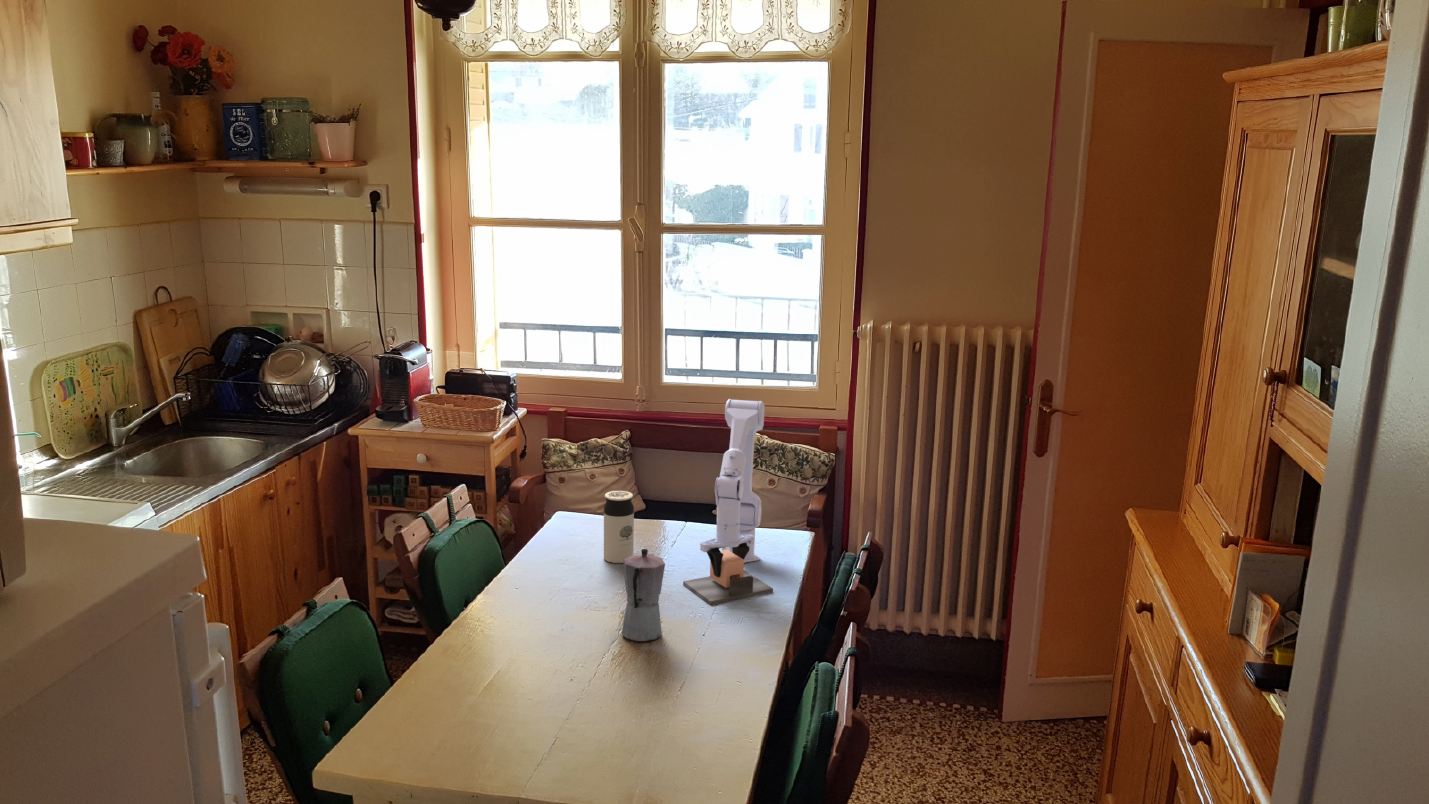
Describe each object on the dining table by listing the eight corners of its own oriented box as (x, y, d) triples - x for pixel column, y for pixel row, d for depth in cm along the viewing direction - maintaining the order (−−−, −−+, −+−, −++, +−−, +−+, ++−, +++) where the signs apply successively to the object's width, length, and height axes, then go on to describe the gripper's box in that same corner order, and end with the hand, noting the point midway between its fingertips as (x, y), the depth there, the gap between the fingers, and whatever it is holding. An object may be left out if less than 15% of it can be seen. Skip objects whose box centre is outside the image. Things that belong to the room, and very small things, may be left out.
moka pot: (668, 622, 242) (669, 540, 238) (658, 652, 227) (659, 565, 223) (627, 620, 243) (628, 538, 239) (614, 649, 228) (615, 562, 224)
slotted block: (709, 577, 265) (710, 552, 264) (726, 573, 267) (727, 549, 266) (726, 587, 258) (726, 563, 257) (743, 584, 261) (743, 559, 259)
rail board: (683, 585, 264) (683, 566, 263) (744, 573, 273) (744, 555, 272) (710, 605, 252) (710, 585, 251) (773, 592, 261) (773, 573, 260)
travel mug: (599, 555, 283) (599, 492, 279) (627, 551, 286) (627, 488, 282) (609, 565, 276) (609, 500, 272) (637, 561, 279) (638, 497, 275)
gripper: (710, 531, 253) (709, 584, 256) (761, 523, 260) (759, 574, 263) (696, 523, 259) (695, 574, 262) (746, 515, 266) (745, 565, 269)
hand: (726, 574), depth 262 cm, fingers closed on slotted block, 5 cm apart
